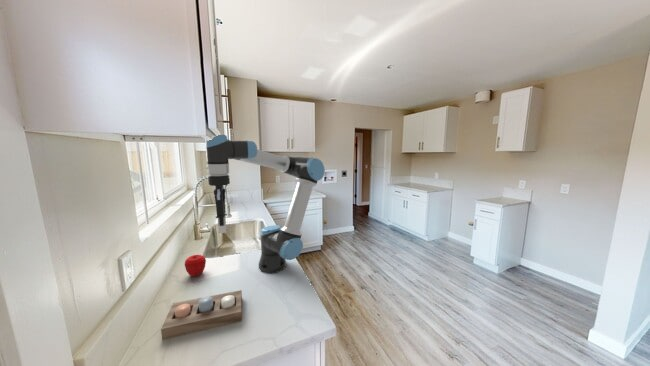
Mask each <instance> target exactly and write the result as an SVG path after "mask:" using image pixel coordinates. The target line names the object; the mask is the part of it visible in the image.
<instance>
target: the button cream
mask: <svg viewBox="0 0 650 366" xmlns="http://www.w3.org/2000/svg"><path fill="white" fill-rule="evenodd" d="M221 306H222V308H221V309H224V308H229V307H233V306H235V297H234V296H233V295H228V296H225V297H223V298H222V300H221Z"/></svg>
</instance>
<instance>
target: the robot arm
mask: <svg viewBox="0 0 650 366" xmlns="http://www.w3.org/2000/svg"><path fill="white" fill-rule="evenodd" d="M205 150H206V151H205V154H206V163H207V165H206V166H205V169H206V170H207V174H208V177H207V180H208V185H209V186H211V187H215V188H214V190H213V195H214V201H215V209H216V216H215V219H217V227H218V234H225V233H227V222H226V220H227V219H226V217H227V216H228V213H226V191H227V190H226V188H224V187H225V186H228V185H230V183H231V182H230V179H231V178H230V175H229V173H230V163H229V162H230V161H229V160H236V161H241V162H245V163H249V164H253V165H257V166H261V167H266V168H270V169H274V170H278V171H279V172H280V173H283V174H286V175H289V176H292V177H295V181H296V182H297V183H296V187H295V189H294V193H293V196H292V199H291V202H290V205H289V207H288V208H289V209H288V212H287V216H286V218H285V222H284V225H283V226H282V225H278V224H274V225H267V226H264V227H263V228H261V230H260V247H261V248H260V250H261V252H260V253H261V254H260V257H259V261H258V270H259V269H260V270H261V271H260V270H259V271H260V272H263V273H265V272H266V273H265V274H267V273H268V274H272V273H273V272H274V273H278V272H280V270H281V269H282V270H284V269H285V268H286V266H287V261H291V260H295V259H296V258H297V257H298V256H300V254H301V253H302V251H303V248H304V243H303V240H302V238H301V237H302V232H301V227H302V225H303V221H304V218H305V215H306V211H307V208H308V205H309V201H310V197H311V194H312V191H313V188H314V187H316V186H317V184H318V182H319V181H320V180H322V179H323V178H324V176H325V173H326V172H325V170H326V169H325V165H324V162H323V161H322V160H321V159H320V158H317V157H316V158H315V157H301V156H297V157H295V156H289V155H283V156H281V155H278V154H275V153H272V152H269V151H264V150H261V149H258V146H257V144H256V142H255V141H253V140H235V139H234V140H232V139H228V136H227V135H226V134H222V133H221V134H220V135H218V136H216V137H214V138H213V139H212V140H209V141H206V140H205ZM286 260H287V261H286ZM285 265H286V266H285ZM284 267H285V268H284ZM283 268H284V269H283ZM282 270H281V271H282ZM277 271H278V272H277Z"/></svg>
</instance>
